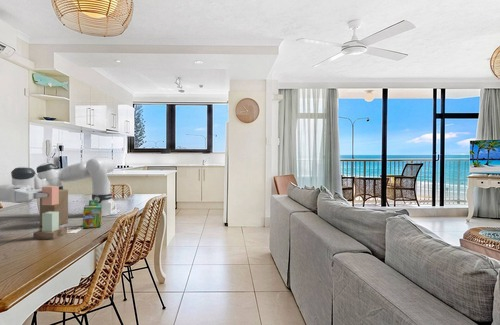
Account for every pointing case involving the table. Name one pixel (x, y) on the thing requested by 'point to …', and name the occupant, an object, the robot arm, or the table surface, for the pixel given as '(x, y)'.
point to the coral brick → (50, 195)
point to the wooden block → (57, 207)
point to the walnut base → (50, 234)
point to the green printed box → (92, 215)
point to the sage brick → (50, 221)
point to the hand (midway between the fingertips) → (52, 194)
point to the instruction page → (73, 229)
